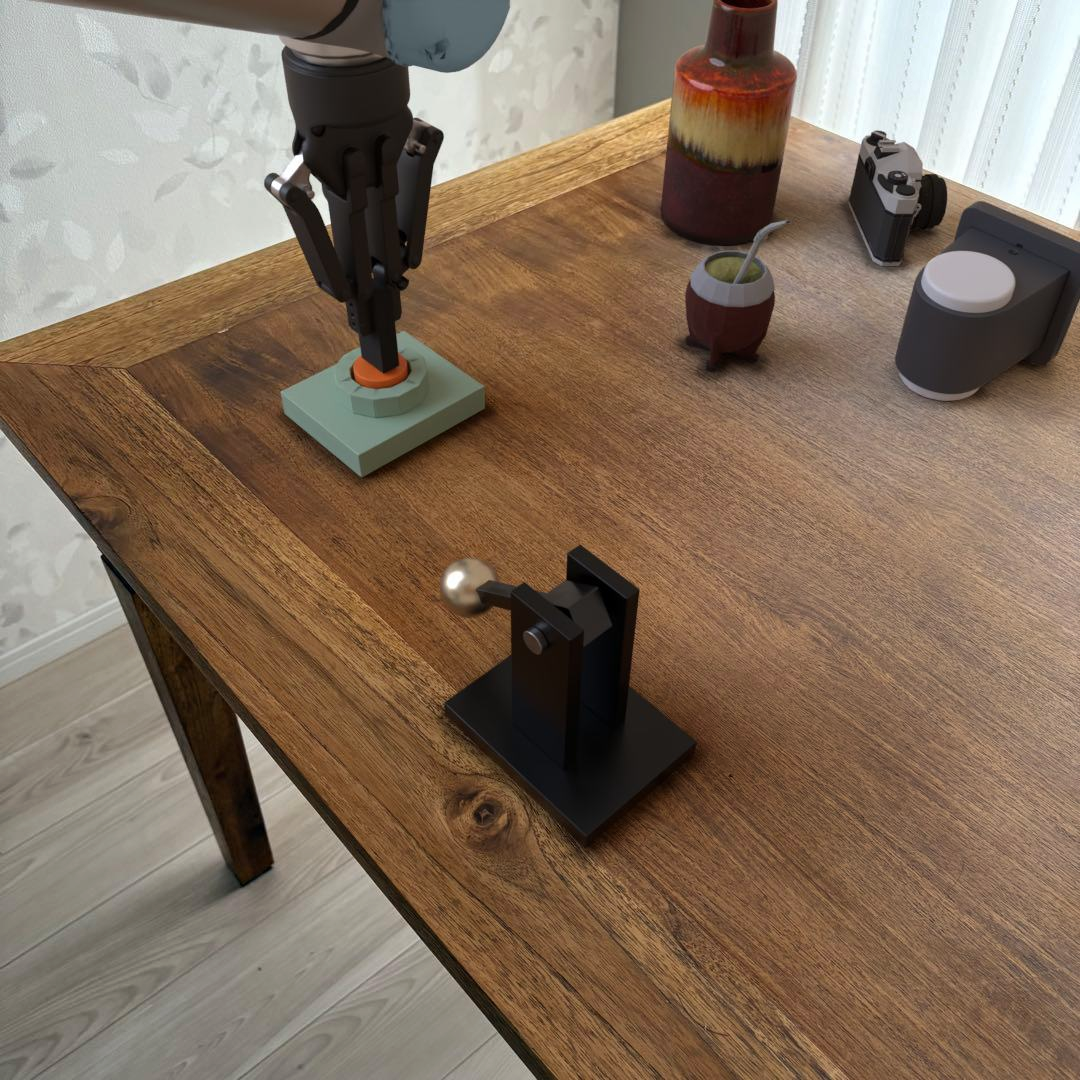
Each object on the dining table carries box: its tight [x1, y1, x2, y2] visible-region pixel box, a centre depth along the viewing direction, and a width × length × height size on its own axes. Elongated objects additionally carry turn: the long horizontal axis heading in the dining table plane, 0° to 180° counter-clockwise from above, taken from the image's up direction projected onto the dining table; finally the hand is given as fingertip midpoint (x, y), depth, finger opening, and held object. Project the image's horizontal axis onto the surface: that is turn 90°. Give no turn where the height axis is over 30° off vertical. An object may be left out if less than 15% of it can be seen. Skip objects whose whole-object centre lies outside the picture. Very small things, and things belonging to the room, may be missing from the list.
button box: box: [280, 330, 486, 478], centre depth 85 cm, size 12×10×4 cm
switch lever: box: [439, 556, 613, 647], centre depth 62 cm, size 13×4×4 cm, turn 43°
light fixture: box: [894, 200, 1080, 402], centre depth 88 cm, size 11×13×11 cm
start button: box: [353, 353, 408, 389], centre depth 84 cm, size 4×4×2 cm
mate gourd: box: [684, 219, 792, 373], centre depth 87 cm, size 8×8×15 cm
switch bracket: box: [443, 544, 698, 849], centre depth 61 cm, size 12×9×13 cm
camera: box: [847, 129, 948, 267], centre depth 104 cm, size 13×8×9 cm, turn 4°
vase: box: [660, 0, 798, 246], centre depth 101 cm, size 11×11×20 cm
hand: (380, 361), depth 83 cm, fingers closed
